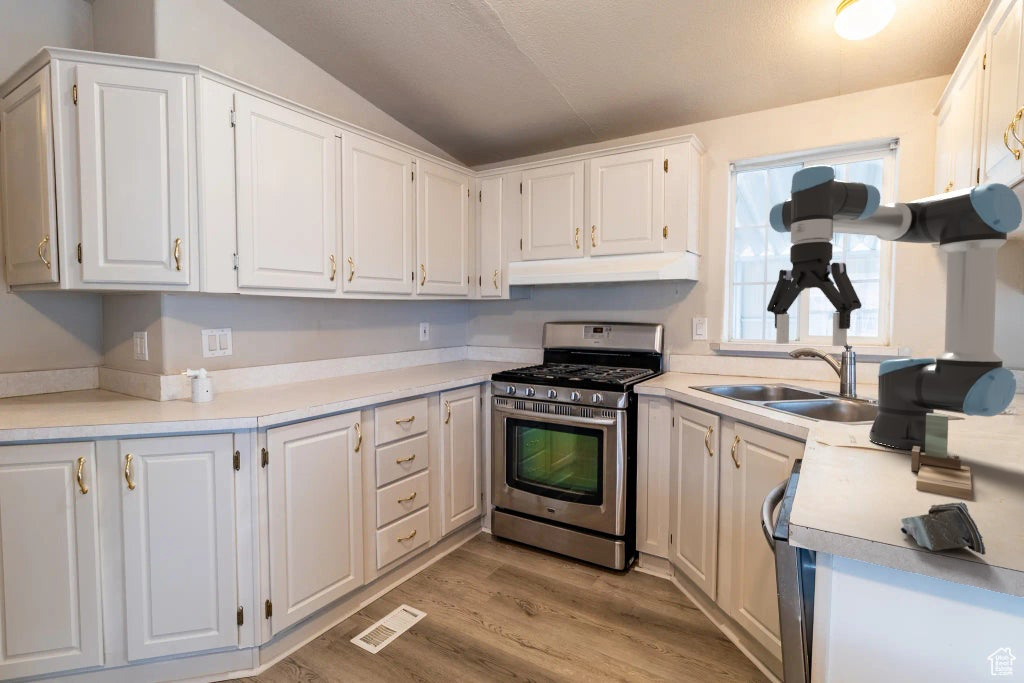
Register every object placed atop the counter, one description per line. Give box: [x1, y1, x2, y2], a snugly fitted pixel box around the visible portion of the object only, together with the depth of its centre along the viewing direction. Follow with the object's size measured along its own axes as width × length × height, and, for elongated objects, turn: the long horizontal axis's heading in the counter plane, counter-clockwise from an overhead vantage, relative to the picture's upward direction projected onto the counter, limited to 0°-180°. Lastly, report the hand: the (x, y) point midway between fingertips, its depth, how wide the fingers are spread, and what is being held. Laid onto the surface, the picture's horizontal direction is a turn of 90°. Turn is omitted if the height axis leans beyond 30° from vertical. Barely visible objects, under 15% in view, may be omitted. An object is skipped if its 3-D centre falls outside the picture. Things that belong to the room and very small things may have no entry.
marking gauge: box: [910, 413, 962, 472], centre depth 106 cm, size 6×8×12 cm
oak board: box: [915, 463, 973, 500], centre depth 101 cm, size 20×8×2 cm, turn 137°
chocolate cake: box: [900, 501, 986, 556], centre depth 73 cm, size 10×7×12 cm
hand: (809, 344), depth 102 cm, fingers open, 13 cm apart
